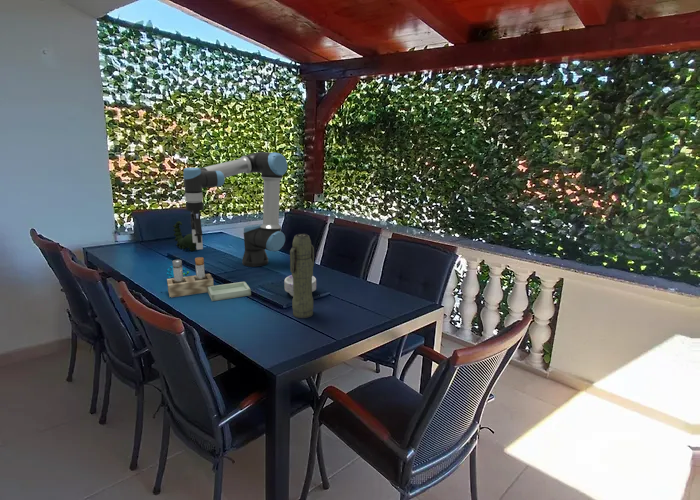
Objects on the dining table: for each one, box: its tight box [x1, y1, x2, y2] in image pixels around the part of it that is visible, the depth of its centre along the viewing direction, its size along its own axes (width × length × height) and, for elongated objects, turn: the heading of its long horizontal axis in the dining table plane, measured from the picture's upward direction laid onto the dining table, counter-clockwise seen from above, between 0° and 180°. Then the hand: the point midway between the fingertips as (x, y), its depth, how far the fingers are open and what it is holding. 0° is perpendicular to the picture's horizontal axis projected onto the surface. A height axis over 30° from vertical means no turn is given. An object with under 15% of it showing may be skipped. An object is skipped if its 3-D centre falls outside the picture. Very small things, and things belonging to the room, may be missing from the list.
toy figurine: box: [172, 220, 197, 252], centre depth 274 cm, size 9×19×25 cm
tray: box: [207, 281, 252, 302], centre depth 202 cm, size 18×12×3 cm, turn 117°
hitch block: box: [166, 273, 215, 298], centre depth 204 cm, size 20×10×6 cm, turn 117°
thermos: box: [289, 233, 315, 319], centre depth 177 cm, size 9×12×35 cm
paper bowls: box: [283, 274, 317, 297], centre depth 202 cm, size 15×15×8 cm
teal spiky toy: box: [166, 265, 190, 279], centre depth 220 cm, size 11×6×10 cm
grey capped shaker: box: [172, 259, 184, 283], centre depth 201 cm, size 4×4×16 cm
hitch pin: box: [194, 256, 206, 280], centre depth 205 cm, size 4×4×16 cm
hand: (197, 245), depth 201 cm, fingers open, 13 cm apart
